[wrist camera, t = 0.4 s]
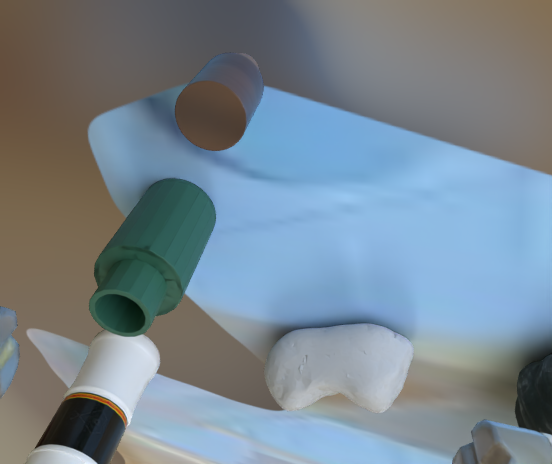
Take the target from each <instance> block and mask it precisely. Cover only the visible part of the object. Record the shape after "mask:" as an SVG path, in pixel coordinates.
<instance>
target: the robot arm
mask: <svg viewBox="0 0 552 464" xmlns="http://www.w3.org/2000/svg"><path fill="white" fill-rule="evenodd" d="M17 326H18V325H17V318H16V312H15V311H13V310H11V309H9V308H5V307H1V306H0V398H2V396H3V395H4V393H5V392H6V390H7V389H8V387H9V386H10V384H11V382H12V380H13V377H14V375H15V372H16V370H17V367H18V361H19V356H20V352H19V344H18V343H17V342H16V340H15V339H14V338H13V337H12V336H11V334H12V332H13V331H14V330H15V329H16V327H17ZM471 435H472V438H473V442H472V443H469V444H467V445H465V446H462V447H460V449H459V450H458V452H457V453H456V455H455V457H454V458H453V461H452V464H552V435H550V434H546V433H539V432H537V431H534V430H529V429H525V428H520V427H516V426H511V425H507V424H502V423H498V422H493V421H489V420H482V421H480V422H478V423H477V424H476V426H475V427H474V428H473V430H472V431H471Z"/></svg>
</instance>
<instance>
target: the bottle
mask: <svg viewBox="0 0 552 464" xmlns="http://www.w3.org/2000/svg"><path fill="white" fill-rule="evenodd" d="M215 221H216V213H215V208H214V205H213V203H212V201H211V200H210V198H209V197H208V195H207V194H206V193H205V192H204V191H203V190H202V189H200V188H199V187H198V186H196V185H194V184H192V183H190V182H188V181H185V180H181V179H164V180H161V181H158V182H156V183H155V184H153V185H152V186H151V187H150V188H149V189H148V190H147V191H146V192H145V194H144V195H143V196H142V198H141V199H140V201H139V202H138V203H137V205H136V206H135V207H134V209H133V210H132V212H131V213H130V214H129V216H128V217H127V218H126V220H125V221H124V223H123V224H122V225H121V227H120V228H119V229H118V231H117V232H116V233H115V235H114V236H113V238H112V239H111V240H110V242H109V243H108V244H107V246H106V247H105V249H104V250H103V251H102V253H101V254H100V255H99V257H98V259H97V261H96V263H95V268H94V269H95V270H94V276H95V279H96V282H97V285H98V289H97V290H96V291H95V293H94V295H93V296H92V298H91V299H90V302H89V310H90V313H91V315H92V317H93V319H94V320H95V321H96V322H97V323H98V324H99V325H100V326H101V327H102V328H104V329H105V330H107V331H109V332H111V333H113V334H116V335H119V336H123V337H136V336H139V335H142V334H144V333H145V332H146V331H147V330H148V329H149V328H150V326H151V324H152V322H153V320H154V318H155V316H159V315H163V314H167V313H168V312H170V311H172V310H174V309H175V308H176V307H177V305H178V304H179V303H180V301H181V299H182V297H183V295H184V293H185V291H186V288H187V286H188V284H189V282H190V280H191V277H192V275H193V273H194V271H195V268H196V266H197V264H198V262H199V260H200V257H201V255H202V253H203V251H204V249H205V246H206V244H207V242H208V240H209V238H210V235H211V233H212V231H213V228H214V225H215Z"/></svg>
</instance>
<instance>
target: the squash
mask: <svg viewBox="0 0 552 464" xmlns="http://www.w3.org/2000/svg"><path fill="white" fill-rule="evenodd" d="M517 394H518V397H517V400H516V406H515V414H516V419H517V422H518V425H519V427H520V428H525V429H529V430H534V431H537V432H539V433H546V434H550V435H552V354H550V355H548V356H546V357H545V358H544V359H543V361H537V362H533V363H531V364H529V365H527V366H525V367H524V368H523V369H522V370H521V371H520V373H519V376H518V382H517Z"/></svg>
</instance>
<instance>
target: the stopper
mask: <svg viewBox="0 0 552 464" xmlns="http://www.w3.org/2000/svg"><path fill="white" fill-rule="evenodd" d="M263 90H264V84H263V79H262V76H261V73H260V70H259V66H258V64H257V62H256V61H255V60H254V59H253V58H252V57H251V56H249V55H247V54H244V53H237V54H236V53H223V54H220V55H217V56H215V57H214V58H213V59H211V60H210V61H209V62H208V63H207V64H206V66H205V67H204V68H203V69H202V70H201V71H200V72H199V73H198V74H197V75H196V77H194V79H193V80H192V81H191V82H190V83H189V84H188V85H187V86H186V87H185V88H184V89H183V91H182V92H181V93H180V95H179V97H178V99H177V101H176V105H175V117H176V121H177V124H178V126H179V129H180V130H181V132H182V133H183V135H184V136H185V137H186V138H187V139H188V140H189V141H190V142H191V143H193V144H194V145H196V146H198V147H200V148H203V149H206V150H211V151H220V150H225V149H228V148H230V147H232V146H234V145H235V144H236V143H237V142H238V141H239V140H240V139H241V138H242V136H243V134H244V132H245V130H246V128H247V126H248V124H249V122H250V120H251V118H252V116H253V114H254V112H255V110H256V108H257V106H258V105H259V103H260V100H261V98H262V95H263Z"/></svg>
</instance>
